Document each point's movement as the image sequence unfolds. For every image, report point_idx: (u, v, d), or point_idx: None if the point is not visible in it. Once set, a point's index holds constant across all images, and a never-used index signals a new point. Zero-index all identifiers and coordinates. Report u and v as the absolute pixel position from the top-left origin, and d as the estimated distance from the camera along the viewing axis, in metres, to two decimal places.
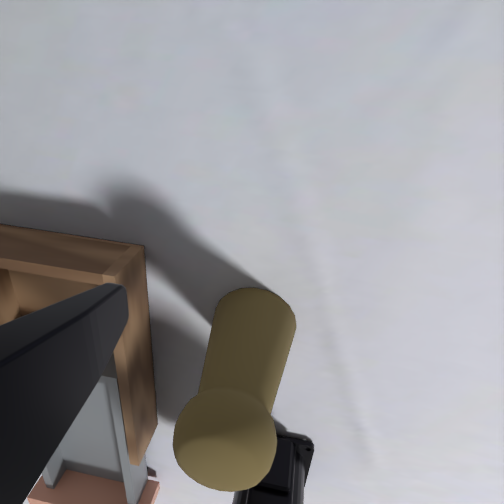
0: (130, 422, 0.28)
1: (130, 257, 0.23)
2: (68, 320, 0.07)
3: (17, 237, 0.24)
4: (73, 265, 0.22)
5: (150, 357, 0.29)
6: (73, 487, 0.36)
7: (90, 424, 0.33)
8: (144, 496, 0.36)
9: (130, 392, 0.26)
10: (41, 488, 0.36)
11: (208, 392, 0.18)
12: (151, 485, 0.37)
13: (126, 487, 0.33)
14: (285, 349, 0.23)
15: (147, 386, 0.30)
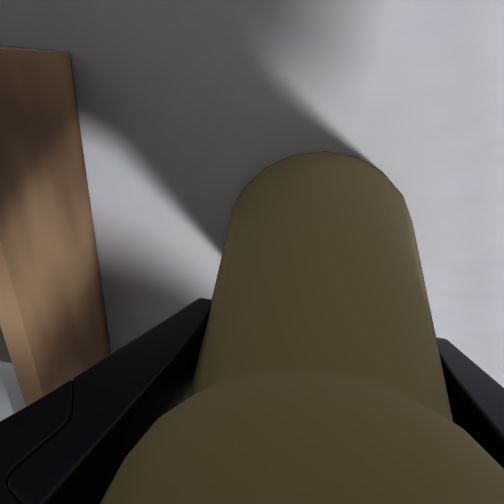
0: None
1: None
2: (184, 341, 0.06)
3: None
4: None
5: (103, 326, 0.15)
6: None
7: None
8: None
9: None
10: None
11: (236, 390, 0.04)
12: None
13: None
14: (423, 280, 0.09)
15: None
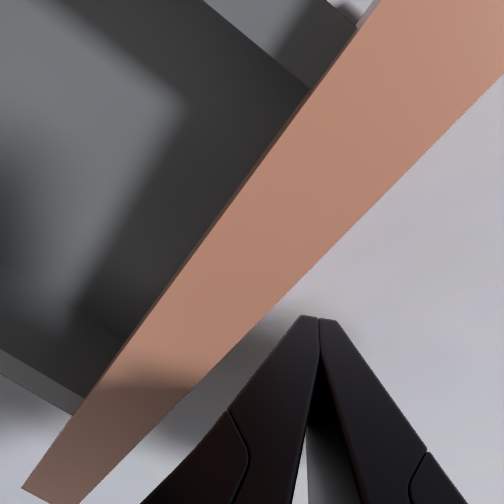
0: None
1: None
2: (314, 365, 0.06)
3: None
4: None
5: None
6: (128, 338, 0.08)
7: None
8: (367, 11, 0.05)
9: None
10: (61, 431, 0.08)
11: None
12: (370, 5, 0.06)
13: None
14: None
15: None
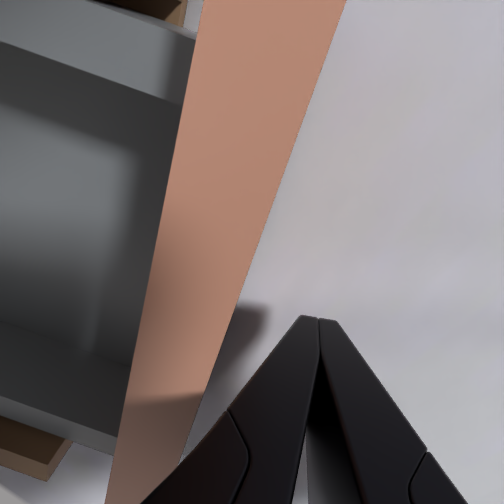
0: None
1: None
2: (314, 365, 0.06)
3: None
4: None
5: None
6: None
7: None
8: None
9: None
10: None
11: None
12: None
13: None
14: None
15: None
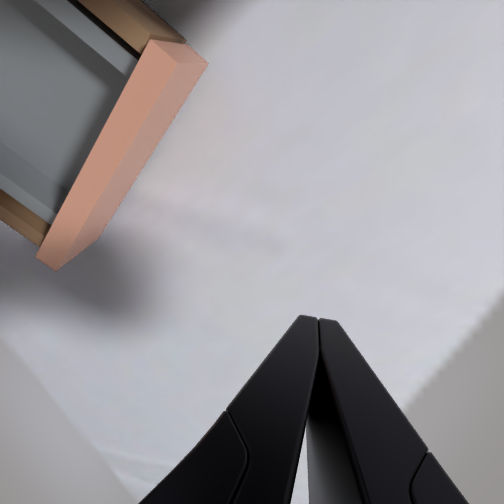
0: None
1: None
2: (313, 365, 0.06)
3: None
4: None
5: None
6: None
7: None
8: None
9: None
10: None
11: None
12: None
13: (66, 21, 0.14)
14: None
15: None
